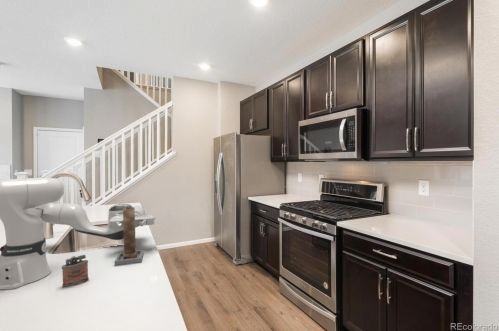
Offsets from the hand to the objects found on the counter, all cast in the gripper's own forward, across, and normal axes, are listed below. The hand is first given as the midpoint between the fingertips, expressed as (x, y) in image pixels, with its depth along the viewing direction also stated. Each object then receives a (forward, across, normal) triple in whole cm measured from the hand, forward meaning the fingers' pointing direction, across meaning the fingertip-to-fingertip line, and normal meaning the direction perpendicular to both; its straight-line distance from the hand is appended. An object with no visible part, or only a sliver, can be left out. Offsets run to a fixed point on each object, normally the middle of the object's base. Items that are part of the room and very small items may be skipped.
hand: (130, 225), depth 116 cm
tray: (+3, 0, -15) cm, 15 cm away
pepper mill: (+2, 0, -14) cm, 15 cm away
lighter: (+20, +16, -15) cm, 30 cm away
